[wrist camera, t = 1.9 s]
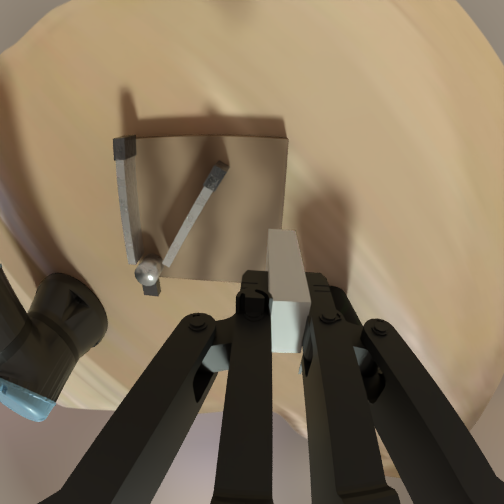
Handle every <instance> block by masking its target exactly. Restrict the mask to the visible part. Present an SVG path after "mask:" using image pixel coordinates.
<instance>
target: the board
mask: <svg viewBox="0 0 504 504" xmlns="http://www.w3.org/2000/svg"><path fill="white" fill-rule="evenodd" d="M288 141H289V139H288V138H282V137H267V136H245V135H174V136H153V137H138V138H136V154H137V155H136V156H135V165H136V180H137V193H138V204H139V214H140V223H141V231H142V239H143V247H144V254H143V256H142V257H141V258H140V260H139V261H140V262H141V261H142V259H143V258H144V257H145V256H146V255H147V254H151V253H152V254H156V255H158V256H159V257H161V259H162V260H164V258H165V256H166V254H167V252H168V251H169V249H170V247H171V245H172V243H173V241H174V239H175V237H176V236H177V234H178V232H179V230H180V228H181V226H182V225H183V223H184V221H185V219H186V217H187V216H188V214H189V212H190V210H191V208H192V207H193V205H194V203H195V201H196V200H197V198H198V196H199V194H200V193H201V191H202V189H203V188H204V186H203V184H204V182H205V180H206V179H207V177H208V175H209V174H210V172H211V170H212V169H213V167H214V165H215V164H216V163H217V162H218V161H219V160H220V161H221V162H223V163H225V164H227V165H228V166H230V168H229V170H228V171H227V173H226V175H225V176H224V178H223V179H222V181H221V183H220V184H219V186H218V187H217V189H216V191H215V192H212V194H211V195H210V197H209V199H208V200H207V202H206V204H205V205H204V207H203V209H202V210H201V212H200V214H199V216H198V217H197V219H196V221H195V222H194V224H193V226H192V228H191V229H190V231H189V233H188V235H187V237H186V238H185V240H184V242H183V244H182V245H181V247H180V249H179V251H178V253H177V254H176V256H175V258H174V260H173V262H172V264H171V265H170V267H167V266H166V265H164V269H163V271H162V272H161V274H160V276H159V277H166V278H178V279H192V280H206V281H221V282H237V283H241V281H242V275H243V274H244V273H245V272H246V271H247V270H258V271H266V257H267V244H268V230H269V229H282V218H283V206H284V194H285V182H286V169H287V155H288Z"/></svg>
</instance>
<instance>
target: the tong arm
mask: <svg viewBox="0 0 504 504" xmlns="http://www.w3.org/2000/svg"><path fill="white" fill-rule="evenodd" d="M229 168H230V166H228V165H227V164H225V163H223V162H221V161H220V160H219V161H218V162H217V163H216V164H215V165H214V167H213V169H212V170H211V172H210V174H209V175H208V177H207V179H206V180H205V182H204V184H203V186H204V188H203V189H202V191H201V193H200V194H199V196H198V198H197V200H196V201H195V203H194V205H193V207H192V208H191V210H190V212H189V214H188V216H187V217H186V219H185V221H184V223H183V225H182V226H181V228H180V230H179V232H178V234H177V236H176V237H175V239H174V241H173V243H172V245H171V247H170V249H169V251H168V252H167V254H166V256H165V258H164V260H163V262H162V264H164V265H166V266H167V267H170V265H171V264H172V262H173V260H174V258H175V256H176V254H177V253H178V251H179V249H180V247H181V245H182V244H183V242H184V240H185V238H186V237H187V235H188V233H189V231H190V229H191V228H192V226H193V224H194V222H195V221H196V219H197V217H198V216H199V214H200V212H201V210H202V209H203V207H204V205H205V204H206V202H207V200H208V199H209V197H210V195H211V194H212V192H215V191H216V189H217V187H218V186H219V184H220V183H221V181H222V179H223V178H224V176H225V175H226V173H227V171H228V170H229Z"/></svg>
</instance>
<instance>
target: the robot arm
mask: <svg viewBox="0 0 504 504" xmlns="http://www.w3.org/2000/svg"><path fill="white" fill-rule="evenodd" d="M107 327H108V321H107V316H106V313H105V311H104V309H103V307H102V305H101V303H100V302H99V300H98V299H97V298H96V296H95V295H94V294H93V293H92V292H91V291H90V290H89V289H88V288H87V287H86V286H85V285H84V284H82V283H81V282H80V281H78V280H77V279H75V278H73V277H71V276H68V275H65V274H61V273H55V274H51V275H49V276H47V277H46V278H45V279H44V280H43V281H42V282H41V284H40V285H39V286H38V288H37V291H36V295H35V297H34V300H33V302H32V304H31V307H30V309H29V311H28V313H26V311H25V309H24V308H23V306H22V304H21V303H20V301H19V299H18V298H17V296H16V294H15V292H14V290H13V289H12V287H11V285H10V283H9V281H8V279H7V277H6V275H5V273H4V271H3V269H2V265H1V264H0V402H1V403H3V404H4V405H6V406H7V407H8V408H10V409H11V410H13V411H14V412H16V413H18V414H19V415H21V416H23V417H25V418H27V419H30V420H32V421H37V422H40V421H43V420H45V419H46V418H47V416H48V415H49V413H50V411H51V410H52V408H53V407H54V406H55V405H56V401H57V399H58V397H59V395H60V393H61V391H62V389H63V387H64V385H65V383H66V381H67V380H68V378H69V376H70V374H71V372H72V370H73V369H74V367H75V365H76V363H77V362H78V360H79V358H80V357H82V356H83V355H84V354H85V353H87V352H88V351H89V350H90V349H91V348H92V347H95V346H96V345H97V344H99V343H100V341H101V340H102V338H103V337H104V335H105V333H106V331H107ZM302 347H303V356H302V360H301V364H300V368H299V373H298V374H301V372H302V375H303V385H304V396H305V407H306V419H307V432H308V446H309V460H310V477H311V495H312V496H311V497H312V504H400V500H399V497H398V494H397V492H396V491H395V489H393V488H391V487H389V486H388V485H387V483H386V480H385V475H384V470H383V465H382V460H381V455H380V450H379V445H378V441H377V436H376V432H375V428H376V430H377V432H378V434H379V436H380V438H381V440H382V442H383V444H384V446H385V447H386V449H387V451H388V453H389V455H390V457H391V459H392V461H393V463H394V465H395V467H396V469H397V471H398V473H399V475H400V477H401V479H402V481H403V483H404V485H405V487H406V489H407V491H408V493H409V495H410V497H411V499H412V501H413V503H414V504H504V482H503V481H501V480H500V479H499V478H498V477H496V475H495V473H494V471H493V470H492V468H491V466H490V465H489V463H488V461H487V459H486V458H485V456H484V455H483V453H482V451H481V450H480V448H479V446H478V445H477V443H476V442H475V440H474V438H473V437H472V435H471V434H470V432H469V431H468V429H467V428H466V426H465V425H464V423H463V422H462V420H461V419H460V417H459V416H458V414H457V413H456V411H455V410H454V408H453V407H452V405H451V404H450V402H449V401H448V399H447V398H446V397H445V395H444V394H443V392H442V391H441V390H440V388H439V387H438V385H437V384H436V383H435V381H434V380H433V378H432V377H431V376H430V374H429V373H428V372H427V370H426V369H425V368H424V366H423V365H422V363H421V362H420V361H419V359H418V358H417V357H416V355H415V354H414V353H413V352H412V350H411V349H410V348H409V346H408V345H407V344H406V342H405V341H404V340H403V339H402V337H401V336H400V335H399V333H398V332H397V331H396V330H395V328H394V327H393V326H392V325H391V324H390V323H389V322H387V321H385V320H382V319H370V320H368V321H367V322H366V323H365V324H364V326H360V325H356V324H352V323H349V322H347V321H345V318H344V316H343V315H342V313H340V312H339V311H338V310H336V308H335V304H334V301H333V298H332V295H331V292H330V288H329V285H328V282H327V279H326V278H325V277H324V276H323V275H322V274H321V273H310V272H305V271H304V266H303V262H302V257H301V253H300V248H299V244H298V240H297V235H296V231H295V230H281V229H269V230H268V244H267V257H266V271H258V270H247V271H246V272H245V273H244V274H243V275H242V281H241V289H240V292H238V294H237V296H236V313H235V314H234V315H233V316H231V317H230V318H227V319H224V320H218V321H215V319H214V318H212V317H211V316H210V315H207V314H205V313H193V314H190V315H187V316H185V317H184V318H183V319H182V320H181V321H180V323H179V324H178V325H177V327H176V328H175V329H174V331H173V332H172V334H171V335H170V336H169V338H168V339H167V340H166V342H165V343H164V344H163V346H162V347H161V349H160V350H159V351H158V353H157V354H156V355H155V357H154V358H153V359H152V361H151V362H150V364H149V365H148V366H147V368H146V369H145V370H144V372H143V373H142V375H141V376H140V377H139V379H138V380H137V381H136V383H135V384H134V386H133V387H132V388H131V390H130V391H129V393H128V394H127V395H126V397H125V398H124V400H123V401H122V402H121V404H120V405H119V407H118V408H117V409H116V411H115V412H114V414H113V415H112V416H111V418H110V419H109V421H108V422H107V423H106V425H105V426H104V428H103V429H102V431H101V432H100V433H99V435H98V436H97V438H96V439H95V441H94V442H93V443H92V445H91V446H90V448H89V449H88V451H87V452H86V453H85V455H84V456H83V458H82V459H81V461H80V462H79V463H78V465H77V466H76V468H75V469H74V471H73V472H72V474H71V475H70V477H69V478H68V479H67V481H66V482H65V484H64V485H63V487H62V488H61V490H59V491H58V492H56V493H54V494H53V495H51V496H49V497H48V498H46V499H44V500H43V501H41V502H39V503H38V504H150V503H151V501H152V499H153V498H154V496H155V494H156V492H157V490H158V488H159V487H160V485H161V483H162V481H163V479H164V477H165V475H166V473H167V472H168V470H169V468H170V466H171V464H172V462H173V460H174V458H175V456H176V455H177V453H178V451H179V449H180V447H181V445H182V443H183V441H184V439H185V437H186V435H187V433H188V432H189V429H190V427H191V425H192V424H193V422H194V420H195V418H196V416H197V414H198V412H199V410H200V408H201V406H202V404H203V402H204V400H205V398H206V396H207V394H208V392H209V390H210V388H211V386H212V384H213V382H214V380H215V378H216V376H217V374H218V371H224V370H229V371H228V378H227V386H226V394H225V402H224V410H223V419H222V427H221V435H220V443H219V452H218V460H217V469H216V477H215V485H214V493H213V497H212V499H211V503H210V504H274V503H273V499H272V352H281V353H301V348H302ZM374 426H375V427H374Z"/></svg>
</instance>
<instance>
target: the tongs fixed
mask: <svg viewBox="0 0 504 504" xmlns="http://www.w3.org/2000/svg"><path fill="white" fill-rule="evenodd" d="M113 151H114V161H115V160H116V172H117V183H118V194H119V203H120V211H121V219H122V226H123V233H124V240H125V246H126V252H127V258H128V263H129V264H135V265H136V264H137V262H138V261H139V260H140V258H141V257H142V256H143V254H144V247H143V239H142V231H141V223H140V214H139V204H138V193H137V180H136V165H135V156H136V155H137V154H136V135H127V136H122V137H118V138H114V139H113ZM162 262H163V260H162V259H161V257H159V256H158V255H156V254H152V253H151V254H147V255H146V256H145V257H144V258H143V259H142V261H141V262H140V264H139V265H138V266H137V268H136V269H135V277H136V279H137V280H138V282H139V283H141V284H142V286H143V291H144V295H151V296H159V294H160V292H161V288H160V282H159V276H160V274H161V272H162V271H163V269H164V264H162Z"/></svg>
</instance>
